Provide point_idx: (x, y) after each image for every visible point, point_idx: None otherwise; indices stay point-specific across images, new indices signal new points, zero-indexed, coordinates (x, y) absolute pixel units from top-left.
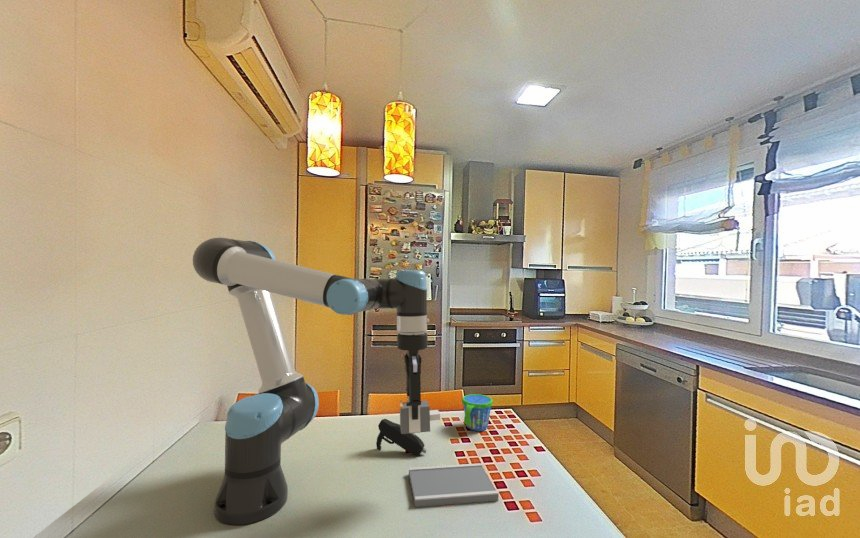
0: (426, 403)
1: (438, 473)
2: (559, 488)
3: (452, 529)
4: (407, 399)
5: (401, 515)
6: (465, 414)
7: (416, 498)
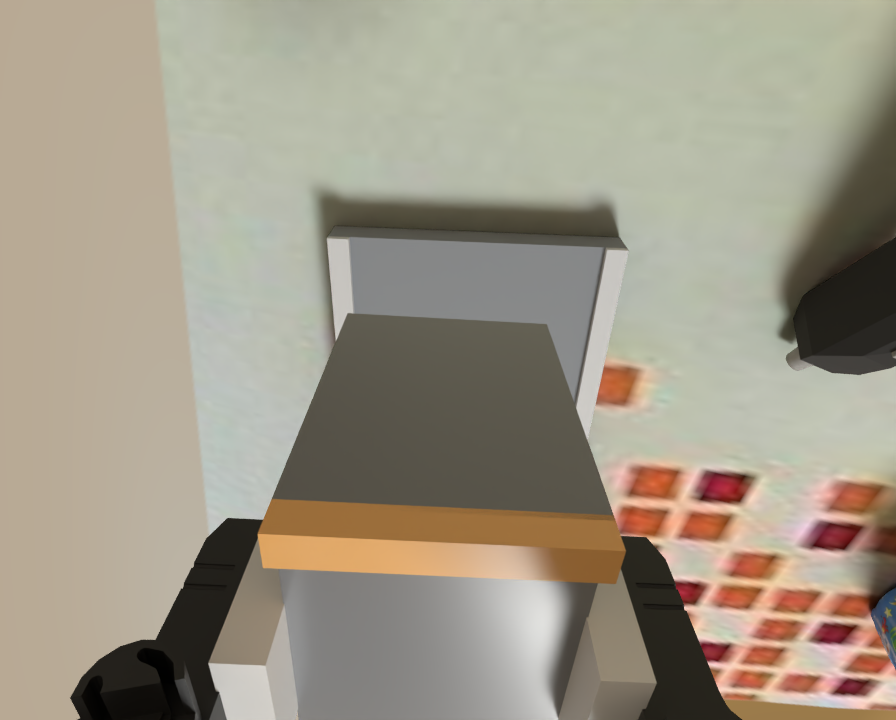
0: None
1: None
2: None
3: (194, 340)
4: (595, 662)
5: (275, 152)
6: None
7: (333, 245)
